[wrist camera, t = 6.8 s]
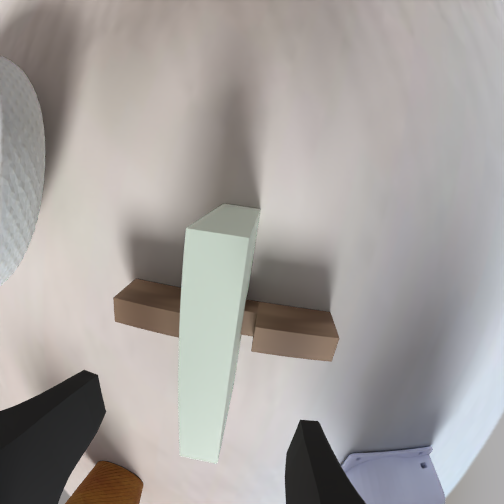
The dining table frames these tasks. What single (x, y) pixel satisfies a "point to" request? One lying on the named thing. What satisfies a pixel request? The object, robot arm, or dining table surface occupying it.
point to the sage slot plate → (212, 323)
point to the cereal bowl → (19, 165)
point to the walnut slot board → (254, 321)
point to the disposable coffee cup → (108, 486)
